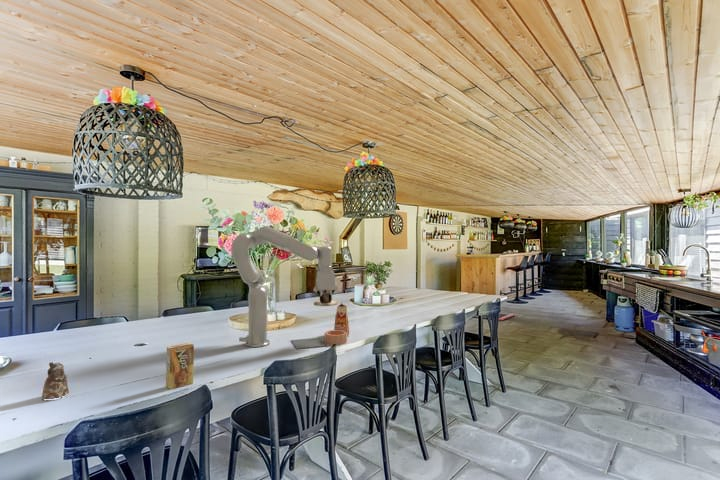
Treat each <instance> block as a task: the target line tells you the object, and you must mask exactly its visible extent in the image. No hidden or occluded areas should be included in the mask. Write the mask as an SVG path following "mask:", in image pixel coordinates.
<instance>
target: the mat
mask: <svg viewBox="0 0 720 480" xmlns="http://www.w3.org/2000/svg"><path fill="white" fill-rule="evenodd" d="M290 341H291V343H292V345H293V346H294V348H296V350H303V349H315V348H325V347H328V344H326V343H325V342H324V340H322V339H321V338H320V337H312V338H300V339H291V340H290Z"/></svg>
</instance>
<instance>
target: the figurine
mask: <svg viewBox="0 0 720 480" xmlns="http://www.w3.org/2000/svg"><path fill="white" fill-rule="evenodd" d="M48 366H49V368H48V370H47V377H46V379H45V380H44V384H43V388H42V395H41V397H42V400H43V399H54V398H59V397H62V396H65V395H66V394H68V393H69V388H68V378H67V376H68V375H67V374H66V373H65V368H64V365H63V363H60V362H55V363H54V362H52V361H51V362H49V364H48ZM68 395H69V394H68Z"/></svg>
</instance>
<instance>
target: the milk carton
mask: <svg viewBox="0 0 720 480" xmlns="http://www.w3.org/2000/svg"><path fill="white" fill-rule="evenodd" d="M333 330H342V331H346V332H347V338H348V337H350V323H349V314H348V306H347V305H345V304H343V301H341V302H340V304H339V305H337V308H336V313H335V315H334V327H333Z"/></svg>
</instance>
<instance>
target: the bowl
mask: <svg viewBox="0 0 720 480" xmlns="http://www.w3.org/2000/svg"><path fill="white" fill-rule="evenodd" d="M323 342H324V343H325V344H326V345H330V346H334V345H333V344H336V345H335V346H340V345H345V344H347V342H348V337H347V332H346V331H342V330H334V329H332V330H331V329H330V330H326V331H325V332H324V340H323Z"/></svg>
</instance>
